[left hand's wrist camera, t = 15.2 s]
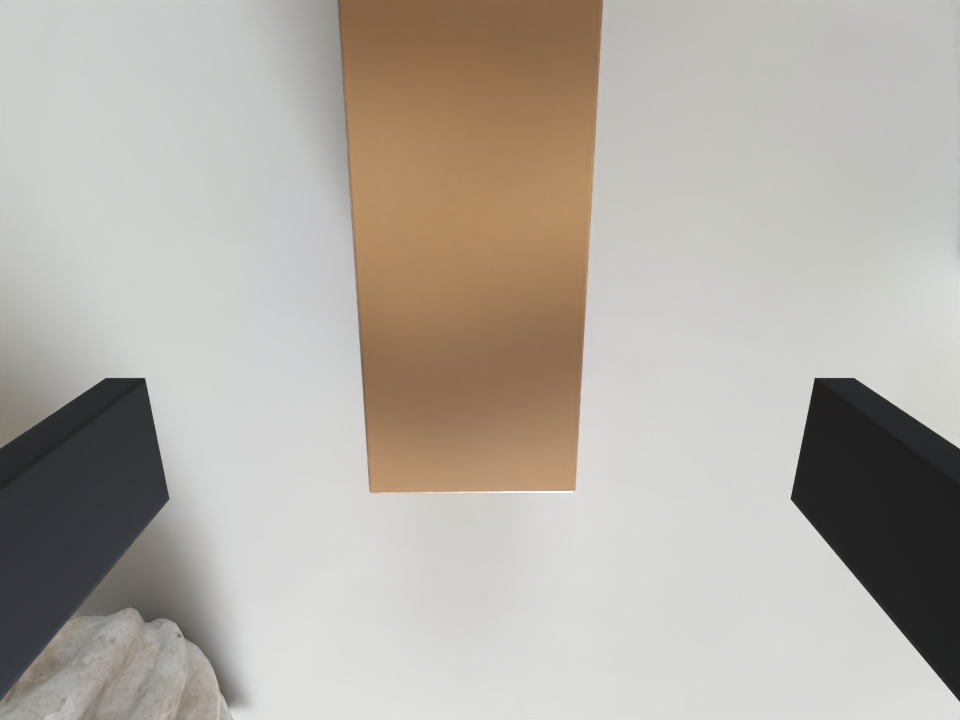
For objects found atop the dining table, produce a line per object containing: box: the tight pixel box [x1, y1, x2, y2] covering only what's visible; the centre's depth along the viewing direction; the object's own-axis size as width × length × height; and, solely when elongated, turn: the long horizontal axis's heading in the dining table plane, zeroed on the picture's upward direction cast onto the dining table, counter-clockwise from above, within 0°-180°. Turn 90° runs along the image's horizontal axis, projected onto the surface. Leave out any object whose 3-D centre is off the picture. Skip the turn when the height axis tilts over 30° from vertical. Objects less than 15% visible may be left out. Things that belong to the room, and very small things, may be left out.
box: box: [338, 0, 603, 494], centre depth 21 cm, size 26×6×12 cm, turn 0°
